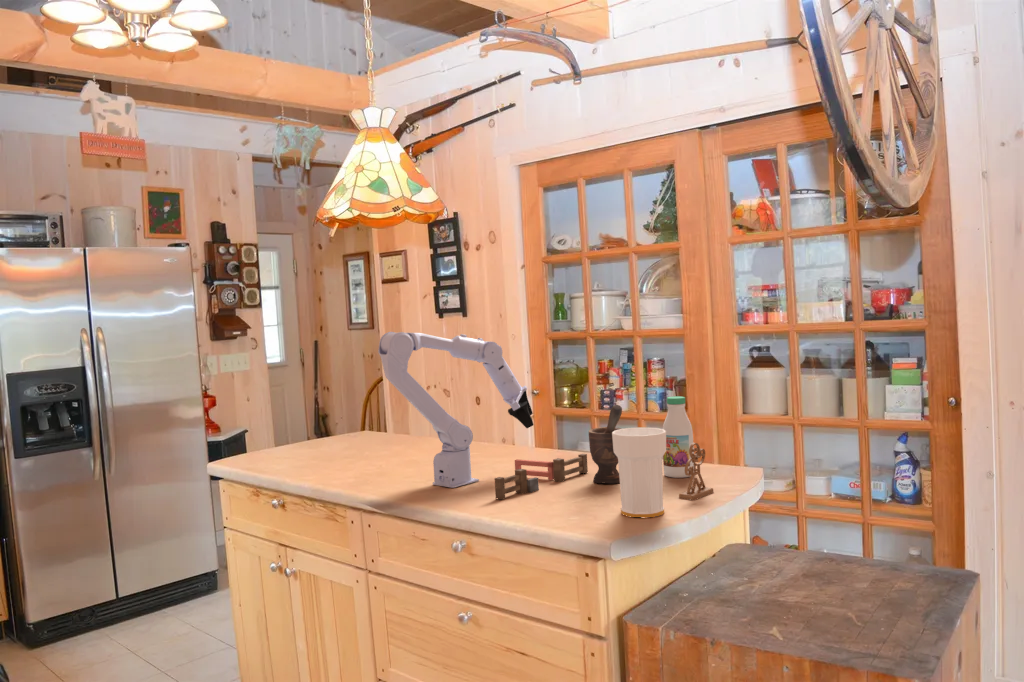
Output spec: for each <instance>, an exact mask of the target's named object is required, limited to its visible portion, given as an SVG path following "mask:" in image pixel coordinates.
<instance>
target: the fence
mask: <svg viewBox="0 0 1024 682" xmlns="http://www.w3.org/2000/svg"><path fill="white" fill-rule="evenodd" d="M552 462H553V468H554V479H553V481H554V480H555V481H554V482H558V481H561V482H564V481H563V480H565V481H566V476H568V475H572V474H575V473H586V474H588V473H589V472H588V471H589V470H588V469H589V468H588V454H587V453H580V454H578V456H577V457H574V458H570V459H567V460H565V458H561V457H560V458H559V457H557V458H554V459H552ZM576 463H578V466H576V467H572V468H569V469H565V467H566V466H570V465H572V464H576ZM526 470H527V469H524V468H521V469H518V470H515V469H514V474H513V475H510V476H508V477H507V476H506V477H503V476H498V477H495V478H494V489H495V490H494V492H495V499H496V498H498V499H503V498H505V499H506V495H507V494H510V493H513V492H515V493H516V492H517V493H516V494H521V493H523V494H526V493H533V491H534V492H537V491H539V489H540V487H539V485H540V484H539V477H537V476H534V477H532V478H528V475H527V471H526ZM587 472H588V473H587ZM514 481H515V482H514ZM510 482H514V483H515V485H512V486H509V487H506V485H505V484H508V483H510ZM536 490H537V491H536ZM525 492H526V493H525ZM503 500H504V499H503Z"/></svg>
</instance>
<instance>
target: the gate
mask: <svg viewBox="0 0 1024 682" xmlns="http://www.w3.org/2000/svg"><path fill="white" fill-rule="evenodd" d="M522 466H526V467H528V466H529V467H542V468H547V471H546V470H535V469H526V471H527V477H528V476H529V477H530V476H531V477H541V478H542V477H543V478H547V480H551V481H552V480H553V481H554V468H553V461H548V460H546V461H544V460H532V459H531V460H529V459H515V460H514V471H515V470H518V469H522Z"/></svg>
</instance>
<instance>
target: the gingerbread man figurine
mask: <svg viewBox="0 0 1024 682" xmlns="http://www.w3.org/2000/svg"><path fill="white" fill-rule="evenodd" d="M693 446H694V449H693ZM695 446H696V447H695ZM692 452H694V454H693V453H692ZM689 454H690V457H691V459H689V460H688V461H687V463H686V465H685V475H688V476H690V475H691V477H689V478H690V479H689V481H688V485H687V490H686V491H683V492H681V493H679V494H678V498H679V499H681V498H684V499H683V500H687V499H691V500H690V501H696V500H698V499H701V498H703V497H706V496H709V495H711V494H713V493H714V488H713V487H708V486H706V484H705V481H704V479H703V477H702V474H701V465H702V464H704V462H705V459H706V451H705V448H701V447H700V444H699V443H697V442H693V443H692V444H691V446H690V449H689ZM700 458H701V459H700ZM699 459H700V461H699ZM691 461H692V463H694V464H693V465H694V467H693V466H690V467H689V469H688V465H689V463H690V462H691ZM688 471H689V472H688ZM695 476H698V478H699V479H698V478H697V477H695ZM699 481H700V482H699ZM696 486H697V487H696ZM712 492H713V493H712ZM710 493H711V494H710ZM708 494H709V495H708ZM705 495H706V496H705ZM702 496H703V497H702ZM700 497H701V498H700ZM697 498H698V499H697ZM695 499H696V500H695Z"/></svg>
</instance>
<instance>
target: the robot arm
mask: <svg viewBox="0 0 1024 682" xmlns="http://www.w3.org/2000/svg"><path fill="white" fill-rule="evenodd" d="M467 336H468V335H467V334H464V333H461V334H459V335H455V336H454V337H452V338H451V339H450V338H445V337H441V336H435V335H431V334H428V333H422V332H404V331H401V332H400V331H399V332H394V331H388V332H386V333H384V334H383V335H382V336H381V337H380V340H379V342H378V350H377V353H378V354H379V357H380V359H381V364H382V367H383V372H384V377H385V378H386V379H387V381H388V382H390V384H391V385H392V386H393V387H395V389H396V390H397V391H398V392H399V393H400V394H401V395H402V396H403V397H404V398H405V399H406V400H407V401H408V402H409V403H410V404H411V405H412V406H413V407H414V408H415V409H416V410H417V411H418V412H419V413H420V414H421V416H423V417H424V418H425V419H426V420H427V421H428V422H429V423H430V425H432V428H433V430H434V431H435V432H436V434H437V437H438V440H439V441H440V442H441V444H442V446H441V449H442V450H441V451H440V452H438V453H436V454H435V455H434V458H433V464H432V465H433V478H434V482H432V485H434V486H441V487H445V488H452V489H454V488H457V487H461V486H464V485H469V484H472V483H476V482H479V481H480V479H479V478H474V477H472V464H471V447H470V445H471V444H472V442H473V439H474V437H473V436H474V435H473V431H472V429H471V428H470V427H469V426H468V425H465V424H462V423H460V422H459V421H458V419H456V418H454V417H453V416H452V415H451V414H450V413H448V412H447V411H446V410H445V408H443V407H442V406H441V405H440V403H439V402H438V401H436V400H435V398H433V396H431V394H429V392H428V391H427V390H426V389H425V388H424V387H423V386H422V385H421V384H420V383H419V382H418V381H417V380H416V379H415V378H414V376H412V375H411V374H410V373H409V371H408V367H409V360H410V358H411V356H412V353H413V351H415V352H416V351H418V350H420V349H422V348H426V349H432V350H438V351H439V350H440V351H446V352H448V353H449V354H450V355H451V356H452V358H455V359H463V360H468V361H472V362H473V361H474V362H477V363H482V366H483V367H484V369H485V371H486V372H487V374H488V376H489V377H490V379H491V380H492V382H493V384H494V385H495V387H496V389H497V390H498V392H499V393H500V395H501V396H502V398H503V401H504V402H505V404H507V405H509V406H510V407H509V408H508V410H507V413H508V415H510V416H511V417H514V418H515V419H516V420H518V421H519V422H520V423H521V424H522V425H523V427H525V428H526V429H529V428H530V427H532V426H534V421H533V419H532V416H533V414H534V413H533V410H532V406H531V404H530V402H529V398H528V394H527V390H528V386H527V385H523V386H522V385H521V384H520V383H519V381H518V379H517V377H516V375H515V374H514V373H513V371H512V369H511V367H510V366H509V364H508V363H507V361H506V359H505V358H504V357H503V347H502V346H501V345H499V344H498V343H496V342H495V341H486V340H484V339H483V338H481V337H478V338H472V337H469V336H468V337H467Z"/></svg>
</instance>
